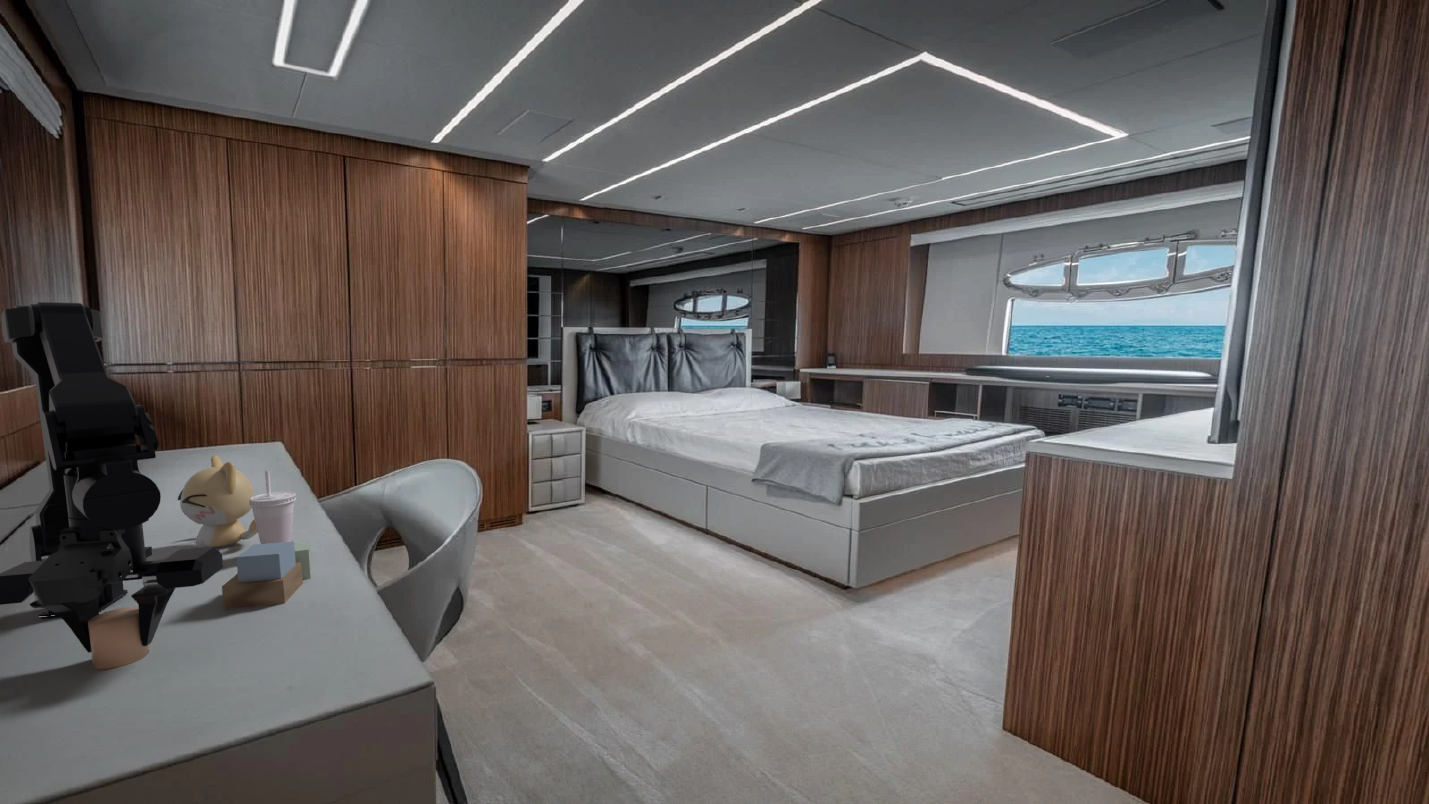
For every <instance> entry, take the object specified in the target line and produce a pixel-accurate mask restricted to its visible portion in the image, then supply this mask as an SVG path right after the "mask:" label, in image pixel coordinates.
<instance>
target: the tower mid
mask: <svg viewBox="0 0 1429 804" xmlns="http://www.w3.org/2000/svg"><path fill="white" fill-rule="evenodd" d="M294 543H295V541H291V542H282V543H268V544H261V543H256V544H252V545H251V546H249V548H247V549H246V550H244V551H243V552H241V553H240V554H239V555H237V556H236V557H235V558H236V568H237V574H238V581H239V582H250V581H261V580H273V579H281V578H283V577H284V576H285V575H286V574H287V573H288V572H289V571H290V570H291V569H292V568H293V567H295V566H296V561H295V549H294Z"/></svg>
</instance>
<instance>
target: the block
mask: <svg viewBox="0 0 1429 804" xmlns="http://www.w3.org/2000/svg"><path fill="white" fill-rule="evenodd" d="M310 546H311V545H310V540H307V541H301V542H294V549H295V561H296V563H299V562H301V568H302V580H308V579H311V578H312V577H311V576H312V561H311V560H312V559H311V549H310V548H311V547H310Z"/></svg>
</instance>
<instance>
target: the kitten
mask: <svg viewBox="0 0 1429 804" xmlns="http://www.w3.org/2000/svg"><path fill="white" fill-rule="evenodd" d="M210 463H211V464H210V465H211V466H210V467H207V468H204V469H202V470H200V471H198V472H196V473H194V474H193V475H192V476H190V477H189V479H188V480H187V481H186V482H185V484H184V486H183V487H182V488H183V489H182V490H181V491H180V492H179V495H178V496H177V501H179V502H180V503H179V505H180V509H181V512H182V514H184V516H186V517H187V518H188V519H190V520H191V521H192V522H194V523H196V524H197V525H202V526H201V527H200V529H199V530H198V534H197V535H196V538H195V546H196V547H195V548H203V547H215V548H220V547H226V546H230V545H234V544H237V543H238V542H240V541H241V540H249V539H250V538H253V537H254V536H256V534H257V535H258V531H257V527H256V522H255V518H253V520H252V521H251V522H250V525H249V526H248V530H245V528H244V526H243V524H242V523H241V522H240V521H239V519H241V518H243V516H245V515H247V514H248V513H249V512H250V511H252V506H249V499H250V498H251V497H253V496H255V491H254V488H253V485H252V483H251V481H250V480H249V479H248V477H247V476H246V475H245V474H244V473H243V472H242V471H240V470H237V469H236V467H235V464H234V463H233V462H232V461H227V462H225V463H223V460H222V459H221V458H220V456H219V455H218V454H213V455H212V456H211V458H210Z"/></svg>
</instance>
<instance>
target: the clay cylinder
mask: <svg viewBox="0 0 1429 804" xmlns="http://www.w3.org/2000/svg"><path fill="white" fill-rule="evenodd" d="M88 627H89V636H90V645H91V652H90V653H91V659H92V660H91V661H92V667H93V668H94V669H97V670H106V669H107V670H108V669H114V668H119V667H124V666H127V665H129V664H133V663H135V662H138V661H139V660H141V659H144V657H146V656H147V655H148V654H149V653H150V648H149V645H148V646H143V645H142V641H141V637H140V624H139V606H127V607H121V608H120V607H119V608H116V609H112V610H108V611H105V612H102V613H99V615H97V616H95V617H93V618H91V619H90V620H89V621H88Z"/></svg>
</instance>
